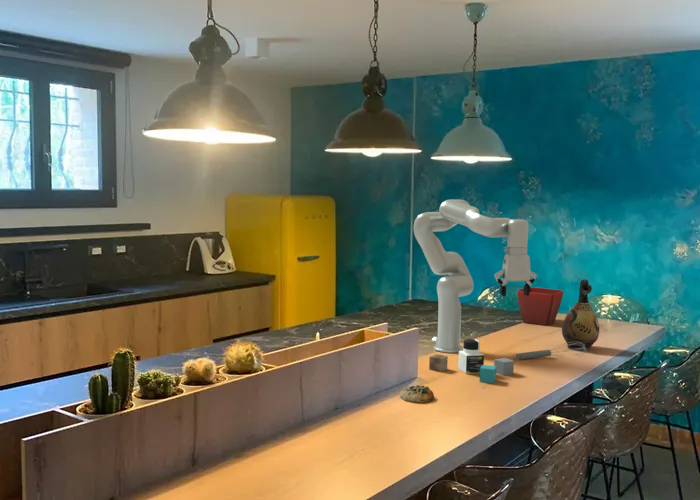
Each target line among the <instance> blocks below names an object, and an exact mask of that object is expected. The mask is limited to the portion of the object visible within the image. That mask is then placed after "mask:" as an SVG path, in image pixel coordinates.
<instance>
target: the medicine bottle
mask: <svg viewBox="0 0 700 500" xmlns="http://www.w3.org/2000/svg"><path fill="white" fill-rule="evenodd" d="M462 346H463V351H459V352H458V367H457V369H458V370H459V371H461V372H462V373H464V374H465V375H468V374H469V375H470V374H472V375H473V374H480V367H481V366H482V365H485V354H484V353H482V352H480V350H481V347H480V346H481V341H480V340H478V339H477V338H466V339H463V345H462Z"/></svg>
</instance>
